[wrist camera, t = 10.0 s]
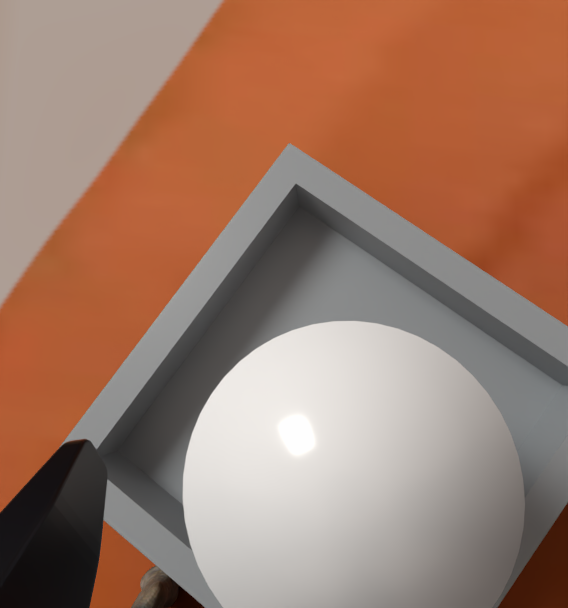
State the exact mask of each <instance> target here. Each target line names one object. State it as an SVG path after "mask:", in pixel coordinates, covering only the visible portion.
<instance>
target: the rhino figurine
mask: <svg viewBox="0 0 568 608" xmlns="http://www.w3.org/2000/svg"><path fill="white" fill-rule="evenodd" d="M140 585H141V589H142V591H141V592H140V593H139V595H138V597H137V599H136V600H135V602H134V604H133V605H132V607H131V608H169V607H170V606H172V605H173V604H174V602H175V601H176V600H177V597H178V591H179V585H178V584H177V583H176V582H175V581H174V580H173V579H172V578H170V577H169V576H168V575H167V574H166V573H165V572H163V571H162V570H161V569H160V568H159V567H158V566H154V567H152V568H151V569H150V570H148V571H147V572H146V574H145V575H144V576H143V577H142V579H141V584H140Z"/></svg>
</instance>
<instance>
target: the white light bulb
mask: <svg viewBox="0 0 568 608" xmlns="http://www.w3.org/2000/svg"><path fill="white" fill-rule="evenodd" d="M183 507H184V517H185V524H186V528H187V533H188V537H189V541H190V545H191V548H192V551H193V553H194V556H195V559H196V562H197V564H198V567H199V569H200V571H201V573H202V575H203V577H204V578H205V580H206V582H207V584H208V586H209V588H210V589H211V591H212V592H213V594H214V595H215V597H216V598H217V600H218V601H219V603H220V604H221V606H222V607H223V608H492V607H493V606H494V604H495V603H496V601H497V600H498V598H499V597H500V595H501V594H502V592H503V590H504V588H505V586H506V584H507V582H508V580H509V578H510V576H511V574H512V571H513V568H514V565H515V562H516V559H517V556H518V553H519V549H520V544H521V539H522V533H523V528H524V512H525V497H524V483H523V476H522V471H521V466H520V461H519V456H518V453H517V450H516V447H515V445H514V442H513V439H512V436H511V433H510V431H509V429H508V427H507V425H506V423H505V421H504V419H503V417H502V415H501V413H500V411H499V410H498V408H497V406H496V405H495V403H494V402H493V400H492V399H491V397H490V396H489V394H488V393H487V392H486V390H485V389H484V388H483V387H482V386H481V385H480V383H479V382H478V381H477V380H476V379H475V377H474V376H473V375H472V374H471V373H470V372H469V371H467V370H466V369H465V368H464V367H463V366H462V365H461V364H460V363H459V362H458V361H457V360H455V359H454V358H452V357H451V356H450V355H448V354H447V353H446V352H444V351H443V350H441V349H440V348H439V347H437V346H435V345H433V344H431V343H429V342H428V341H426V340H424V339H422V338H420V337H418V336H416V335H413V334H411V333H408V332H405V331H403V330H400V329H398V328H394V327H389V326H385V325H381V324H377V323H369V322H361V321H332V322H325V323H318V324H312V325H309V326H305V327H302V328H298V329H295V330H292V331H289V332H287V333H285V334H282V335H280V336H278V337H275V338H273V339H272V340H270V341H268V342H266V343H265V344H263V345H261V346H260V347H258V348H256V349H255V350H254V351H252V352H251V353H250V354H249V355H247V356H246V357H245V358H243V359H242V360H241V361H240V362H238V364H237V365H236V366H235V367H234V368H233V369H232V370H231V371H230V372H229V373H228V374H227V375H226V376H225V377H224V378H223V379H222V381H221V382H220V383H219V385H218V386H217V387H216V389H215V390H214V391H213V393H212V394H211V395H210V397H209V399H208V401H207V402H206V404H205V406H204V408H203V409H202V411H201V413H200V415H199V418H198V420H197V423H196V425H195V427H194V430H193V432H192V435H191V439H190V443H189V446H188V450H187V454H186V460H185V467H184V474H183Z"/></svg>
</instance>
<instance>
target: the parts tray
mask: <svg viewBox="0 0 568 608" xmlns="http://www.w3.org/2000/svg"><path fill="white" fill-rule="evenodd" d="M332 321H361V322H369V323H377V324H381V325H385V326H389V327H394V328H398V329H400V330H403V331H405V332H408V333H411V334H413V335H416V336H418V337H420V338H422V339H424V340H426V341H428V342H429V343H431V344H433V345H435V346H437V347H439V348H440V349H441V350H443V351H444V352H446V353H447V354H448V355H450V356H451V357H452V358H454V359H455V360H457V361H458V362H459V363H460V364H461V365H462V366H463V367H464V368H465V369H466V370H467V371H469V372H470V373H471V374H472V375H473V376H474V377H475V379H476V380H477V381H478V382H479V383H480V385H481V386H482V387H483V388H484V389H485V390H486V392H487V393H488V394H489V396H490V397H491V399H492V400H493V402H494V403H495V405H496V406H497V408H498V410H499V411H500V413H501V415H502V417H503V419H504V421H505V423H506V425H507V427H508V429H509V431H510V433H511V436H512V439H513V442H514V445H515V447H516V450H517V453H518V456H519V461H520V466H521V471H522V476H523V483H524V497H525V512H524V528H523V533H522V539H521V544H520V549H519V553H518V556H517V559H516V562H515V565H514V568H513V571H512V574H511V576H510V578H509V580H508V582H507V584H506V586H505V588H504V590H503V592H502V594H501V595H500V597H499V598H498V600H497V601H496V603H495V604H494V606H493V607H492V608H497V607H498V606H499V604H500V603H501V601H502V600H503V598H504V597H505V595H506V594H507V592H508V591H509V589H510V588H511V586H512V585H513V583H514V582H515V580H516V579H517V577H518V576H519V574H520V573H521V571H522V570H523V568H524V567H525V565H526V564H527V562H528V561H529V559H530V558H531V557H532V555H533V554H534V552H535V551H536V549H537V548H538V546H539V545H540V543H541V542H542V540H543V539H544V537H545V536H546V534H547V533H548V531H549V530H550V528H551V527H552V525H553V524H554V522H555V521H556V519H557V518H558V516H559V515H560V513H561V512H562V510H563V509H564V507H565V506H566V504H567V503H568V326H566V325H565V324H563V323H562V322H560V321H558V320H557V319H555V318H554V317H552V316H551V315H549V314H548V313H546V312H545V311H543V310H542V309H540V308H539V307H537V306H536V305H534V304H533V303H531V302H530V301H528V300H527V299H525V298H524V297H522V296H521V295H519V294H518V293H516V292H515V291H513V290H511V289H510V288H508V287H507V286H505V285H504V284H502V283H501V282H499V281H498V280H496V279H495V278H493V277H492V276H490V275H489V274H487V273H486V272H484V271H483V270H481V269H480V268H478V267H477V266H475V265H474V264H472V263H471V262H469V261H468V260H466V259H464V258H463V257H461V256H460V255H458V254H457V253H455V252H454V251H452V250H451V249H449V248H448V247H446V246H445V245H443V244H442V243H440V242H439V241H437V240H436V239H434V238H433V237H431V236H430V235H428V234H427V233H425V232H424V231H422V230H421V229H419V228H417V227H416V226H414V225H413V224H411V223H410V222H408V221H407V220H405V219H404V218H402V217H401V216H399V215H398V214H396V213H395V212H393V211H392V210H390V209H389V208H387V207H386V206H384V205H383V204H381V203H380V202H378V201H377V200H375V199H374V198H372V197H370V196H369V195H367V194H366V193H364V192H363V191H361V190H360V189H358V188H357V187H355V186H354V185H352V184H351V183H349V182H348V181H346V180H345V179H343V178H342V177H340V176H339V175H337V174H336V173H334V172H333V171H331V170H330V169H328V168H327V167H325V166H323V165H322V164H320V163H319V162H317V161H316V160H314V159H313V158H311V157H310V156H308V155H307V154H305V153H304V152H302V151H301V150H299V149H298V148H296V147H295V146H293V145H292V144H290V143H289V144H288V145H287V147H286V148H285V149H284V151H283V152H282V153H281V155H280V156H279V157H278V159H277V160H276V161H275V162H274V164H273V165H272V166H271V168H270V169H269V170H268V172H267V173H266V174H265V176H264V177H263V178H262V180H261V181H260V182H259V184H258V185H257V186H256V188H255V189H254V190H253V192H252V193H251V194H250V196H249V197H248V198H247V200H246V201H245V202H244V204H243V205H242V206H241V208H240V209H239V210H238V212H237V213H236V214H235V215H234V217H233V218H232V219H231V221H230V222H229V223H228V225H227V226H226V227H225V229H224V230H223V231H222V233H221V234H220V235H219V237H218V238H217V239H216V241H215V242H214V243H213V245H212V246H211V247H210V249H209V250H208V251H207V253H206V254H205V255H204V257H203V258H202V259H201V261H200V262H199V263H198V265H197V266H196V267H195V268H194V270H193V271H192V272H191V274H190V275H189V276H188V278H187V279H186V280H185V282H184V283H183V284H182V286H181V287H180V288H179V290H178V291H177V292H176V294H175V295H174V296H173V298H172V299H171V300H170V302H169V303H168V304H167V306H166V307H165V308H164V310H163V311H162V312H161V314H160V315H159V316H158V318H157V319H156V320H155V321H154V323H153V324H152V325H151V327H150V328H149V329H148V331H147V332H146V333H145V335H144V336H143V337H142V339H141V340H140V341H139V343H138V344H137V345H136V347H135V348H134V349H133V351H132V352H131V353H130V355H129V356H128V357H127V359H126V360H125V361H124V363H123V364H122V365H121V367H120V368H119V369H118V371H117V372H116V373H115V374H114V376H113V377H112V378H111V380H110V381H109V382H108V384H107V385H106V386H105V388H104V389H103V390H102V392H101V393H100V394H99V396H98V397H97V398H96V400H95V401H94V402H93V404H92V405H91V406H90V408H89V409H88V410H87V412H86V413H85V414H84V416H83V417H82V418H81V420H80V421H79V422H78V424H77V425H76V426H75V427H74V429H73V430H72V431H71V433H70V434H69V435H68V437H67V438H66V439H65V441H64V442H63V443H62V445H63V444H64V443H66V442H68V441H73V440H80V439H88V440H90V441H91V442H92V444H93V445H94V447H95V448H96V450H97V451H98V453H99V455H100V456H101V458H102V459H103V461H104V462H105V464H106V467H107V471H108V479H107V489H106V499H105V509H104V519H103V520H104V521H105V522H107V523H108V524H109V525H110V526H111V527H112V528H114V529H115V530H116V531H117V532H118V533H119V534H121V535H122V536H123V537H124V538H125V539H126V540H127V541H129V542H130V543H131V544H132V545H133V546H134V547H136V548H137V549H138V550H139V551H140V552H141V553H143V554H144V555H145V556H146V557H147V558H148V559H149V560H151V561H152V562H153V563H154V564H155V565H156V566H158V567H159V568H160V569H161V570H162V571H163V572H165V573H166V574H167V575H168V576H169V577H170V578H172V579H173V580H174V581H175V582H176V583H177V584H178V585H180V586H181V587H182V588H183V589H184V590H185V591H187V592H188V593H189V594H190V595H191V596H192V597H194V598H195V599H196V600H197V601H198V602H199V603H201V604H202V605H203V606H204V607H205V608H223V607H222V606H221V604H220V603H219V601H218V600H217V598H216V597H215V595H214V594H213V592H212V591H211V589H210V588H209V586H208V584H207V582H206V580H205V578H204V577H203V575H202V573H201V571H200V569H199V567H198V564H197V562H196V559H195V556H194V553H193V551H192V548H191V545H190V541H189V537H188V533H187V528H186V524H185V517H184V507H183V474H184V467H185V460H186V454H187V450H188V446H189V443H190V439H191V435H192V432H193V430H194V427H195V425H196V423H197V420H198V418H199V415H200V413H201V411H202V409H203V408H204V406H205V404H206V402H207V401H208V399H209V397H210V395H211V394H212V393H213V391H214V390H215V389H216V387H217V386H218V385H219V383H220V382H221V381H222V379H223V378H224V377H225V376H226V375H227V374H228V373H229V372H230V371H231V370H232V369H233V368H234V367H235V366H236V365H237V364H238V362H240V361H241V360H242V359H243V358H245V357H246V356H247V355H249V354H250V353H251V352H252V351H254V350H255V349H256V348H258V347H260V346H261V345H263V344H265V343H266V342H268V341H270V340H272V339H273V338H275V337H278V336H280V335H282V334H285V333H287V332H289V331H292V330H295V329H298V328H302V327H305V326H309V325H312V324H318V323H325V322H332ZM62 445H61V446H62ZM61 446H60V447H61ZM60 447H59V448H60Z"/></svg>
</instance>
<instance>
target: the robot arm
mask: <svg viewBox="0 0 568 608" xmlns="http://www.w3.org/2000/svg"><path fill="white" fill-rule="evenodd" d="M107 479H108V471H107V467H106V464H105V462H104V461H103V459H102V458H101V456H100V455H99V453H98V451H97V450H96V448H95V447H94V445H93V444H92V442H91V441H90V440H88V439H80V440H73V441H68V442H66V443H64V444H63V445H62V446H61V447H60V448H59V449H58V450H57V451H56V452H55V453H54V454H53V455H52V456H51V458H50V459H49V460H48V461H47V462H46V463H45V464H44V465H43V466H42V467H41V469H40V470H39V471H38V472H37V473H36V474H35V475H34V476H33V477H32V478H31V480H30V481H29V482H28V483H27V484H26V485H25V486H24V487H23V488H22V489H21V490H20V492H19V493H18V494H17V495H16V496H15V497H14V498H13V499H12V500H11V501H10V503H9V504H8V505H7V506H6V507H5V508H4V509H3V510H2V511H1V512H0V608H89V607H90V602H91V597H92V592H93V588H94V583H95V578H96V573H97V568H98V562H99V556H100V548H101V539H102V529H103V519H104V509H105V499H106V489H107Z"/></svg>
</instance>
